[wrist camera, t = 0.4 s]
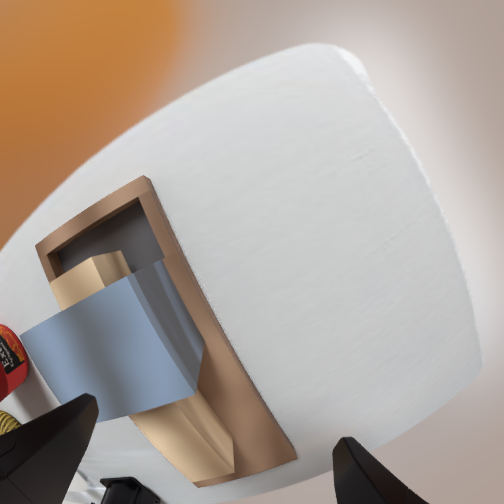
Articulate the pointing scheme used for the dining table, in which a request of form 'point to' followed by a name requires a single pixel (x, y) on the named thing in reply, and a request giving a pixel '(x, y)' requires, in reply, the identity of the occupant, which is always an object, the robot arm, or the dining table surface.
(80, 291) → the beech bar
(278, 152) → the dining table surface
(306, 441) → the dining table surface
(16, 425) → the sculpture
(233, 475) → the track
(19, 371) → the canned food
